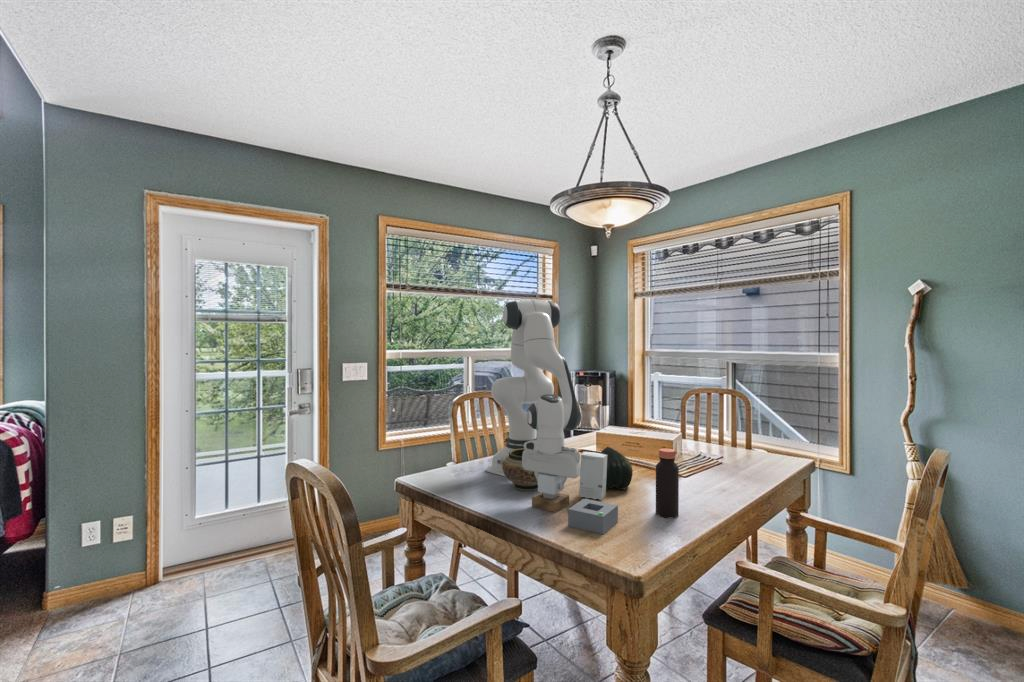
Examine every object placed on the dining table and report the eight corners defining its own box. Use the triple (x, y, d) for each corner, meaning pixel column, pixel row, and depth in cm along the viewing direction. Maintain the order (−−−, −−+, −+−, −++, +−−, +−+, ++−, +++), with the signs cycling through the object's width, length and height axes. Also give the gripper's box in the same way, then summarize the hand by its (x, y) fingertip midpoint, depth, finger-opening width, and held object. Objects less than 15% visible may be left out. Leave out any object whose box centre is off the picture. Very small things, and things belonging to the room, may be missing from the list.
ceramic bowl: (498, 486, 189) (488, 450, 188) (537, 470, 196) (529, 435, 194) (524, 507, 167) (514, 466, 165) (568, 488, 174) (559, 448, 172)
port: (568, 526, 143) (568, 507, 143) (583, 514, 152) (584, 497, 152) (603, 534, 137) (603, 515, 137) (617, 521, 146) (617, 503, 146)
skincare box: (579, 497, 169) (579, 454, 168) (583, 492, 174) (584, 450, 174) (603, 501, 165) (603, 456, 165) (607, 495, 171) (607, 453, 170)
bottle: (660, 508, 158) (661, 446, 157) (681, 513, 153) (682, 449, 153) (652, 514, 152) (652, 450, 152) (673, 519, 148) (673, 453, 148)
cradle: (531, 507, 159) (531, 497, 159) (545, 499, 167) (545, 490, 167) (556, 512, 154) (556, 502, 154) (569, 504, 162) (569, 495, 162)
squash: (629, 481, 169) (630, 443, 178) (586, 479, 174) (589, 441, 183) (633, 499, 179) (634, 461, 188) (592, 496, 184) (595, 460, 193)
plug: (537, 505, 160) (538, 474, 160) (546, 500, 165) (546, 470, 165) (554, 508, 157) (554, 477, 156) (562, 503, 162) (562, 473, 161)
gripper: (584, 447, 157) (583, 490, 158) (529, 439, 169) (529, 479, 169) (575, 451, 152) (575, 495, 152) (519, 443, 163) (519, 484, 163)
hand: (550, 487), depth 161 cm, fingers closed on plug, 6 cm apart
